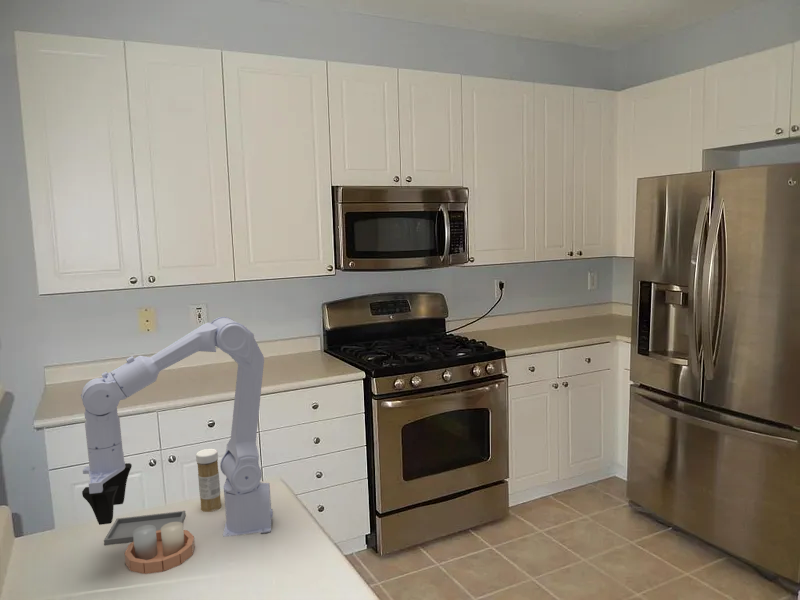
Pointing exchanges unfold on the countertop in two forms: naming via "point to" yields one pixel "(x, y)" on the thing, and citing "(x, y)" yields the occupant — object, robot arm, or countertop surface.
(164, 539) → the cream rounded cylinder
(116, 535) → the tray
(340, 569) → the countertop surface
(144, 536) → the grey rounded cylinder
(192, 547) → the bowl
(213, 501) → the sprinkles bottle
